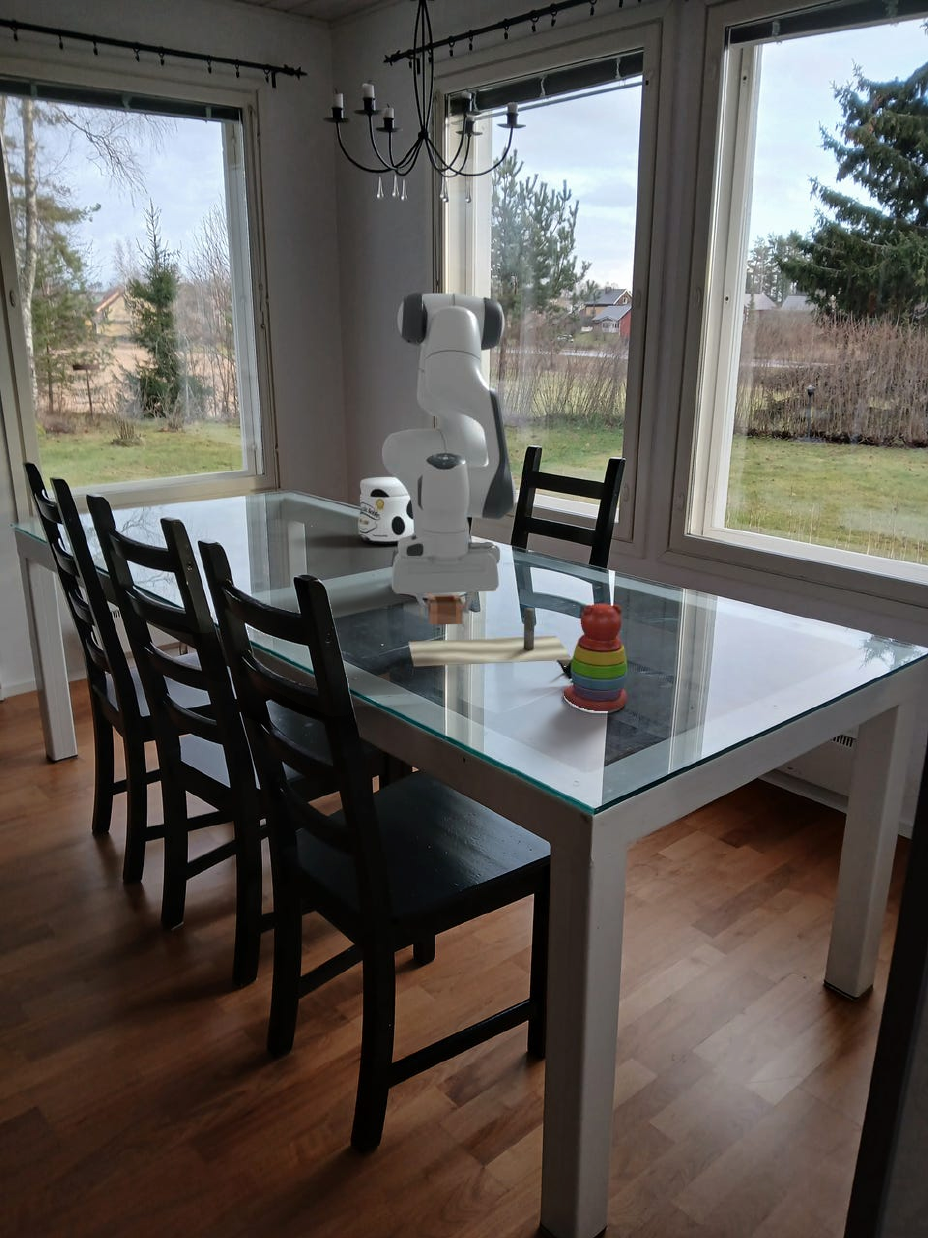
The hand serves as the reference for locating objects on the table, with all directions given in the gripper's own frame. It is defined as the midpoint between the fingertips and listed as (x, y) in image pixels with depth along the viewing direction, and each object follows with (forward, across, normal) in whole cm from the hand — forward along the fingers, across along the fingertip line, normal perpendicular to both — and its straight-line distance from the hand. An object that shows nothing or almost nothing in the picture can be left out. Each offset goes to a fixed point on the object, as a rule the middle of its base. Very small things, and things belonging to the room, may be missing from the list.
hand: (445, 613), depth 180 cm
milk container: (+11, +6, -104) cm, 105 cm away
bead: (+1, 0, 0) cm, 1 cm away
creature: (+9, -23, +17) cm, 30 cm away
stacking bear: (+9, -24, +26) cm, 36 cm away
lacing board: (+9, -8, +1) cm, 12 cm away
